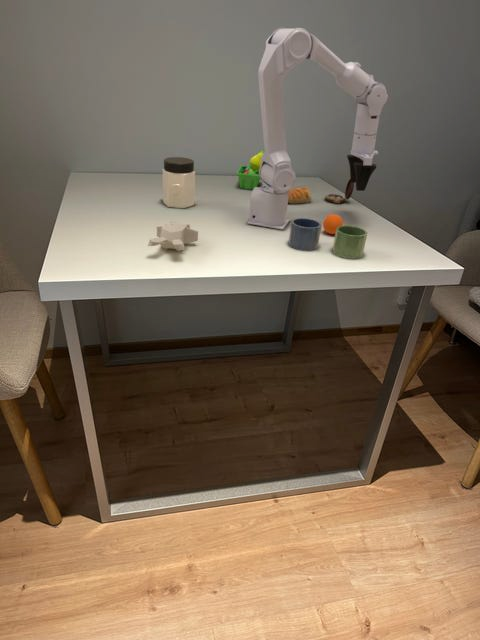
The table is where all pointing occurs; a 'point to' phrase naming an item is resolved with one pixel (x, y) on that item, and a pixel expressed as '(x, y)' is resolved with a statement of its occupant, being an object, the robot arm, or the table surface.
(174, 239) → the white toy turtle
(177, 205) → the jar
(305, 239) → the slate cup
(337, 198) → the compass
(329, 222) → the ball
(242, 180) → the fruit basket
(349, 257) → the sage cup
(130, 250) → the table surface
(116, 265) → the table surface
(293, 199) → the pastry
